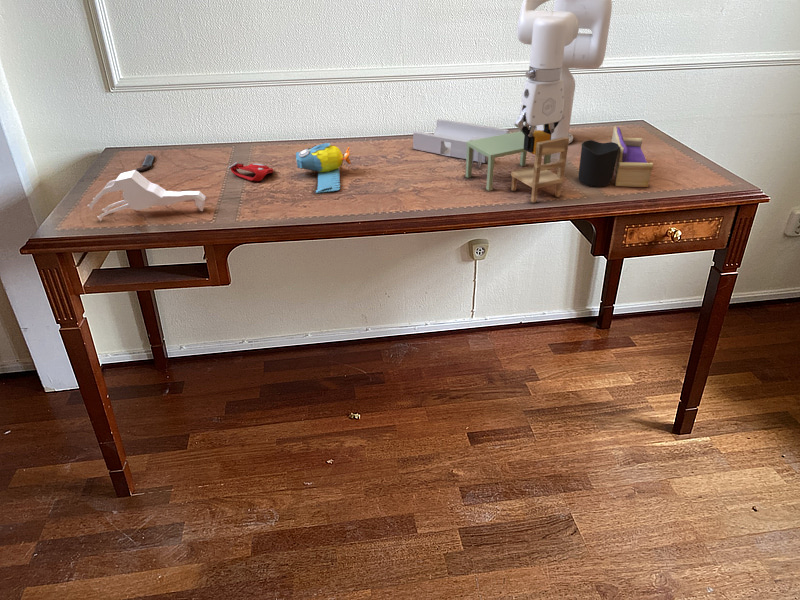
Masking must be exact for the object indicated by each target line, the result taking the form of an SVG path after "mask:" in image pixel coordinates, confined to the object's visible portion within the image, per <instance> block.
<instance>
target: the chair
mask: <svg viewBox="0 0 800 600" xmlns="http://www.w3.org/2000/svg"><path fill="white" fill-rule="evenodd" d="M568 143H569V138H568V137H563V138H558V139H553V140H548V141H543V142H538V143H537V144H536V153H535V155H534V163H533V166H531V167H525V168H521V169H517V170H512V171H511V174H510V176H511V186H510V191H512V192H515V191H517V187H518V181H520V182H521V183H523V184H525V185H526V186H529V187H530V188H532V189H531V196H530V203H533V204H534V203H537V199H538V191H539V189H540V188H545V187H550V186H553V185H555V190H554V197H556V198H559V197H561V191H562V186H563V185H562V183H564V180H565V179H564V178H565V172H566V166H567V165H566V163H567V157H568V151H569V144H570V143H569V144H568ZM557 153H559V159H558V160H557V161H556V160H555V161H552V162H551V161H550V163H546V164H544V163H542V160H543V157H544V156H545V155H549V154H551V155H553V154H557ZM556 168H558V169H557V173H555V172H553V171H551V170H553V169H556ZM548 169H549V170H548Z"/></svg>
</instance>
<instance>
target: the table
mask: <svg viewBox="0 0 800 600" xmlns="http://www.w3.org/2000/svg"><path fill="white" fill-rule="evenodd" d="M524 136H525V135H524V134H523V132H522V131H521V130H520V131H515V132H509V134H503V135H498V136H493V137H488V138H483V139H477V140H472V141H467V142H466V145H467V157H466V159H465V178H467V179H469V178H472V173H473V165H472V155H473V149H474V150H476V151H478V152H479V153H481V154H483V155H485V157H486V156H487V157H488V161H487V171H486V172H487V173H486V186H485V189H486V191H488V192H490V191H493V188H494V187H493V185H494V173H495V172H494V171H495V159H497V158H500V157H506V156H511V155H515V154H520V157H519V166H521V167H525V166H526V165H527V153H528V151H526V150H524ZM543 157H544V158H543V164H546V163H551V157H552V154H549V155H544V156H543ZM548 170H549V171H550V169H548Z"/></svg>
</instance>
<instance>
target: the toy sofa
mask: <svg viewBox="0 0 800 600" xmlns="http://www.w3.org/2000/svg"><path fill="white" fill-rule="evenodd" d="M623 136H624V135H623V134H622V131H621V128H620V127H619V126H613V130H612V137H611V139H610V142H613V143H616V144H618V145H619V150H618V155H617V159H616V164H615V168H614V171H615V173H616V177H615V182H614V183H615V184H614V186H615V187H630V188H631V187H634V188H648V187H649V186H650V185H649V184H650V181H651V175H652V170H653V168H654V163H653V162H648V161H647V159H646V156H645V154H644V152H643V150H642V144H643V138H642V137H623Z"/></svg>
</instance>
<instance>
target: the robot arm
mask: <svg viewBox="0 0 800 600" xmlns="http://www.w3.org/2000/svg"><path fill="white" fill-rule="evenodd" d="M549 1H551V0H522V2H521V6H520V9H519V10H520V11H519V14H518V19H517V25H516V37H517V40H518V41H519V42H520V43H522V44H523V45H530V55H529V66H528V71H526V72H525V74H524V75H525V78H527V80H525V84H524V86H523V92H522V97H521V101H520V107H519V108H520V109H519V115H518V117H517V119H516V120H515V122H514V126H515V127H516V128H517V129H518V130H520V131H522V132H523V134H524V135H525V136H524V150H526V151H527V153H530V154H532V152H533V148H534V137H533V133H534V131H537V130H541V131H543V132H546V133H548V134H550V135H551V137H550V140H553V139H558V138H563V137H568V138H569V143H568V145H569V144H570V143H572V142H573V140H574V135H573V134H572V133H570V127H571V119H572V113H573V104H574V97H575V92H576V91H575V90H576V80H575V77H574V75H573V74H572V72H571V71H570V69H583V70H596V69H599V68H600V67H601V66H602V65H603V63H604V60H605V56H606V51H607V44H608V39H609V32H610V25H611V18H612V11H613V10H612V9H613V8H612V7H613V2H612V0H554V3H553V10H536V9H537V8H539V7H540V6H541V5H543V4H545V3H547V2H549ZM580 29H581V30H583V29H584V30H590V32H591V33H582V32H581V33H580V32H579V30H580Z"/></svg>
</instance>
